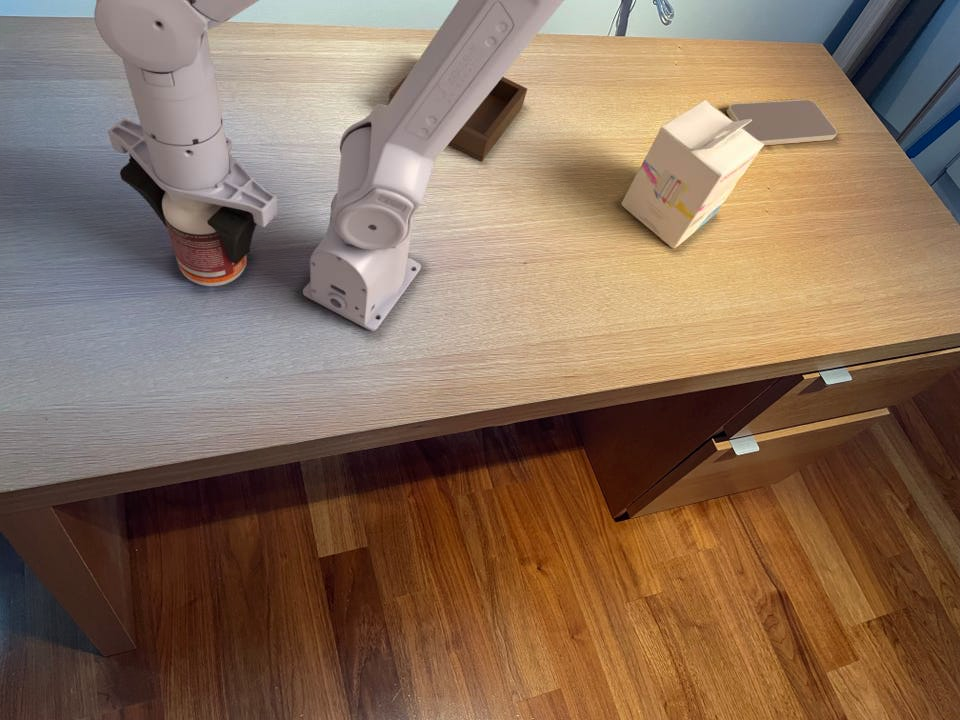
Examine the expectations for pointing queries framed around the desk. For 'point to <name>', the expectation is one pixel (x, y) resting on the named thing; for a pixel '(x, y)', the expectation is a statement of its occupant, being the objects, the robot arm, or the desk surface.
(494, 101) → the tray
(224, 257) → the pill bottle
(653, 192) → the ink box
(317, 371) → the desk surface
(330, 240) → the robot arm
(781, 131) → the smartphone
